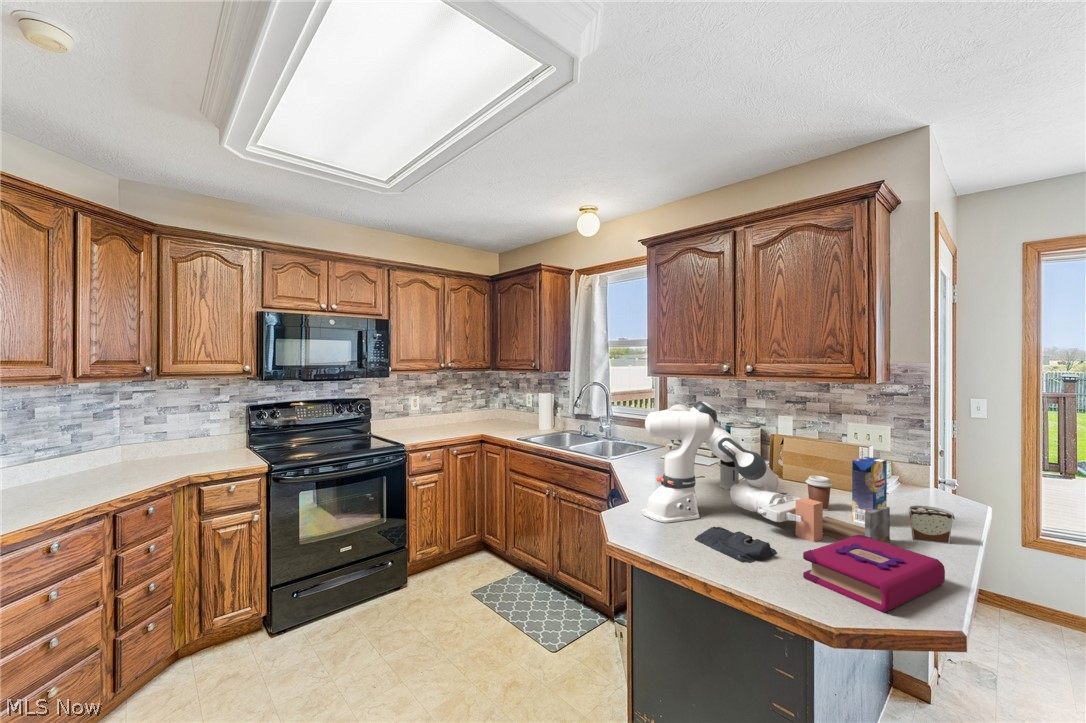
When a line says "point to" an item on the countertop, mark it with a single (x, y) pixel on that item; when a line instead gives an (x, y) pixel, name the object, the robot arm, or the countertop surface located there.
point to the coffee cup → (819, 490)
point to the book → (873, 571)
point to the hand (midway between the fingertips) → (810, 516)
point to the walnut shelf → (874, 527)
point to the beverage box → (868, 486)
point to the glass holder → (728, 474)
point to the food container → (930, 524)
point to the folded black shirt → (736, 545)
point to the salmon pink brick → (809, 519)
